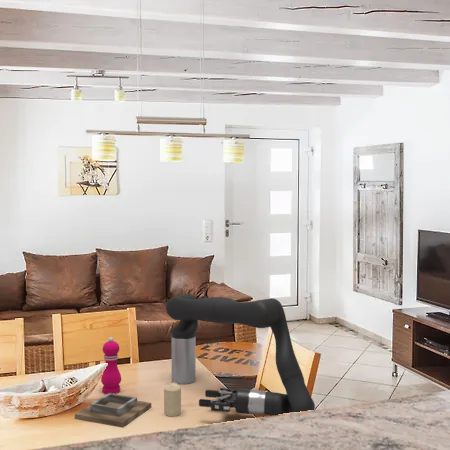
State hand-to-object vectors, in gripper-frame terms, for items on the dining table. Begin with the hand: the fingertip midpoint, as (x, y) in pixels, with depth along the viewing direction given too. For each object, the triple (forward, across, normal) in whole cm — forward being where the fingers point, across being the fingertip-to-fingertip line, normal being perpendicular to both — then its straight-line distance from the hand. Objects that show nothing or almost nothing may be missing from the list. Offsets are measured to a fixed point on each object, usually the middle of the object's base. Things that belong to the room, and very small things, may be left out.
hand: (202, 397), depth 191 cm
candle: (+10, 0, +6) cm, 12 cm away
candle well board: (+29, +4, +6) cm, 30 cm away
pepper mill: (+38, -15, +6) cm, 41 cm away
